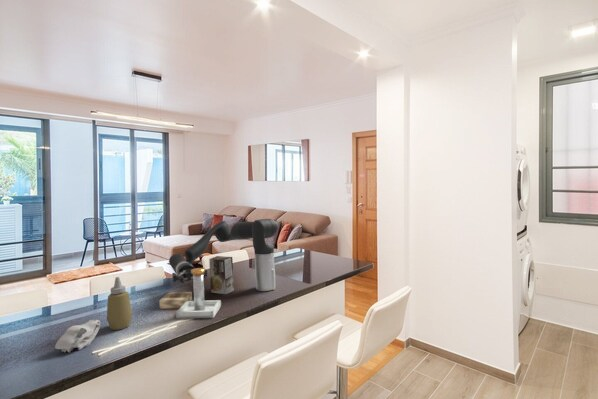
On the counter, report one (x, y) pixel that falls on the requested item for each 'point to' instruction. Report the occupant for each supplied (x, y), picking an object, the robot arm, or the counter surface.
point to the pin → (198, 288)
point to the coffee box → (221, 274)
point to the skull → (78, 336)
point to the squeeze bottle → (118, 307)
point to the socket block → (175, 299)
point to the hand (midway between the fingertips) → (193, 278)
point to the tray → (189, 312)
